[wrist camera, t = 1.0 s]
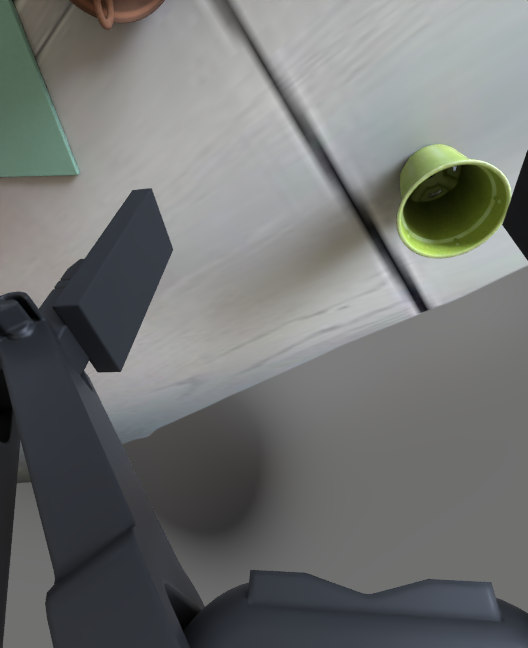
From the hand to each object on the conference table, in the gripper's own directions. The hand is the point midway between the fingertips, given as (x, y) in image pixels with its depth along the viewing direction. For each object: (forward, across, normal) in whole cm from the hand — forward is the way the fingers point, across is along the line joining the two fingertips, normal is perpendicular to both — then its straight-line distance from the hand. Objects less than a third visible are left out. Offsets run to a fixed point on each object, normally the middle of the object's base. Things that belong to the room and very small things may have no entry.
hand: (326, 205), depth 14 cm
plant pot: (+28, +12, -12) cm, 32 cm away
